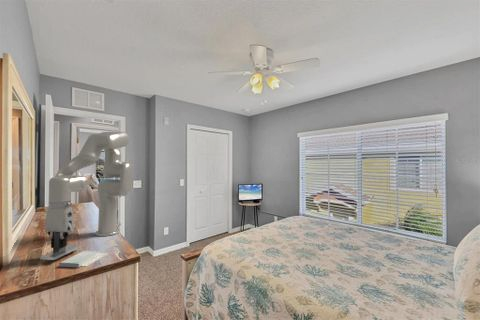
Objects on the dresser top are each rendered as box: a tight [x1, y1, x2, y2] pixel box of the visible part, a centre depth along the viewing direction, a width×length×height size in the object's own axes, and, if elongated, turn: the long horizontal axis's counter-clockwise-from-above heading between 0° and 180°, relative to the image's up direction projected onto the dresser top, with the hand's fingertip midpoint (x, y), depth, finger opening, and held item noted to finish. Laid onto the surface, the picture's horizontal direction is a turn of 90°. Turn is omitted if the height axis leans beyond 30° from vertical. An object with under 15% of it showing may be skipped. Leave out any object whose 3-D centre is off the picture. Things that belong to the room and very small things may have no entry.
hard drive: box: [58, 250, 102, 268], centre depth 92 cm, size 2×8×12 cm
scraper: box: [40, 232, 83, 261], centre depth 96 cm, size 6×14×9 cm, turn 175°
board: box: [81, 252, 109, 268], centre depth 94 cm, size 13×11×1 cm
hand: (58, 246), depth 96 cm, fingers closed on scraper, 3 cm apart
